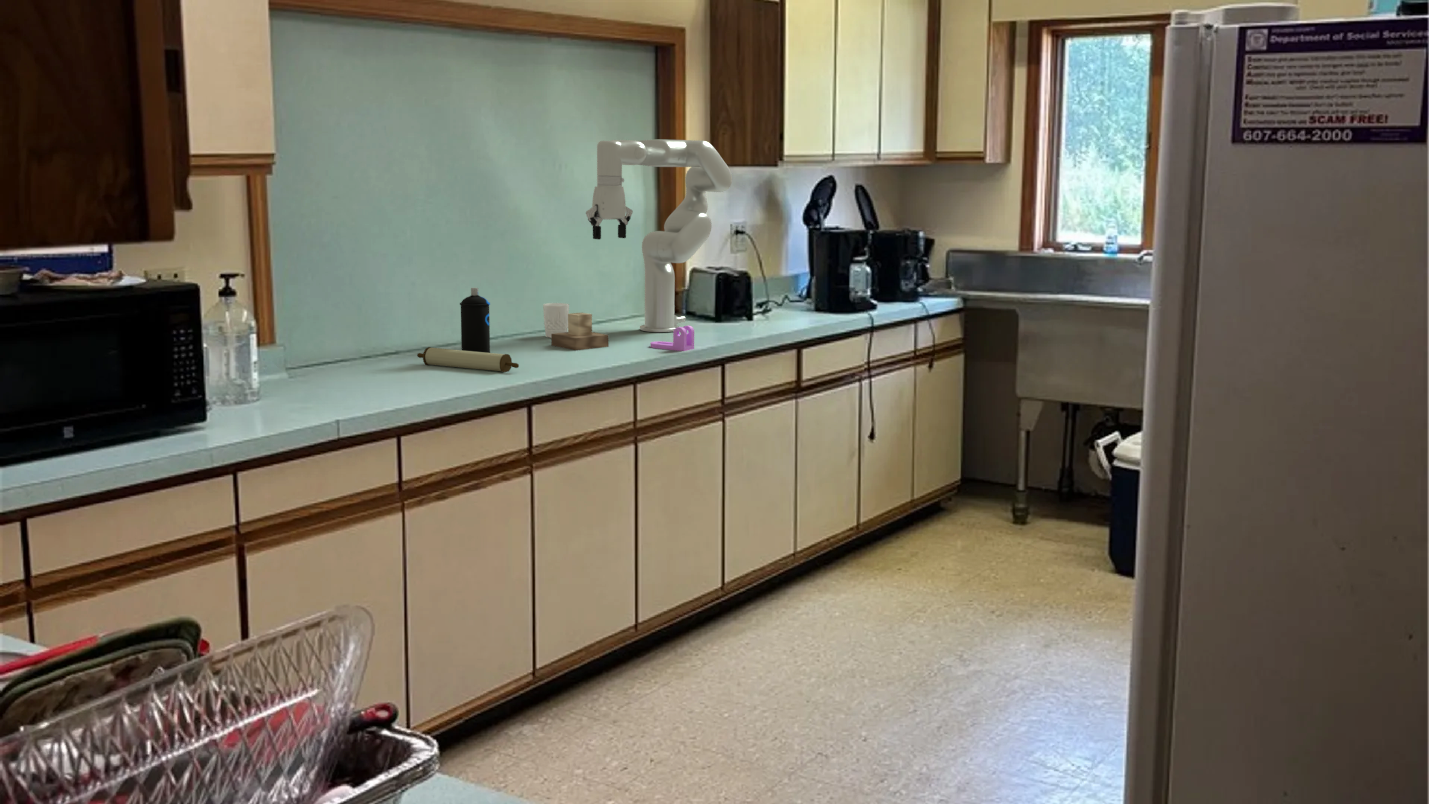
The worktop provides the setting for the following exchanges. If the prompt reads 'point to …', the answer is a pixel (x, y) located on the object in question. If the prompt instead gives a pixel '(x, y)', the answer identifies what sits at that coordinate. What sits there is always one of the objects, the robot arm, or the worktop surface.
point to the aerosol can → (475, 323)
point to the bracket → (678, 340)
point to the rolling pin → (467, 359)
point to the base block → (579, 341)
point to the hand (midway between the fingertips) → (609, 238)
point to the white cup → (555, 318)
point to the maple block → (579, 324)
